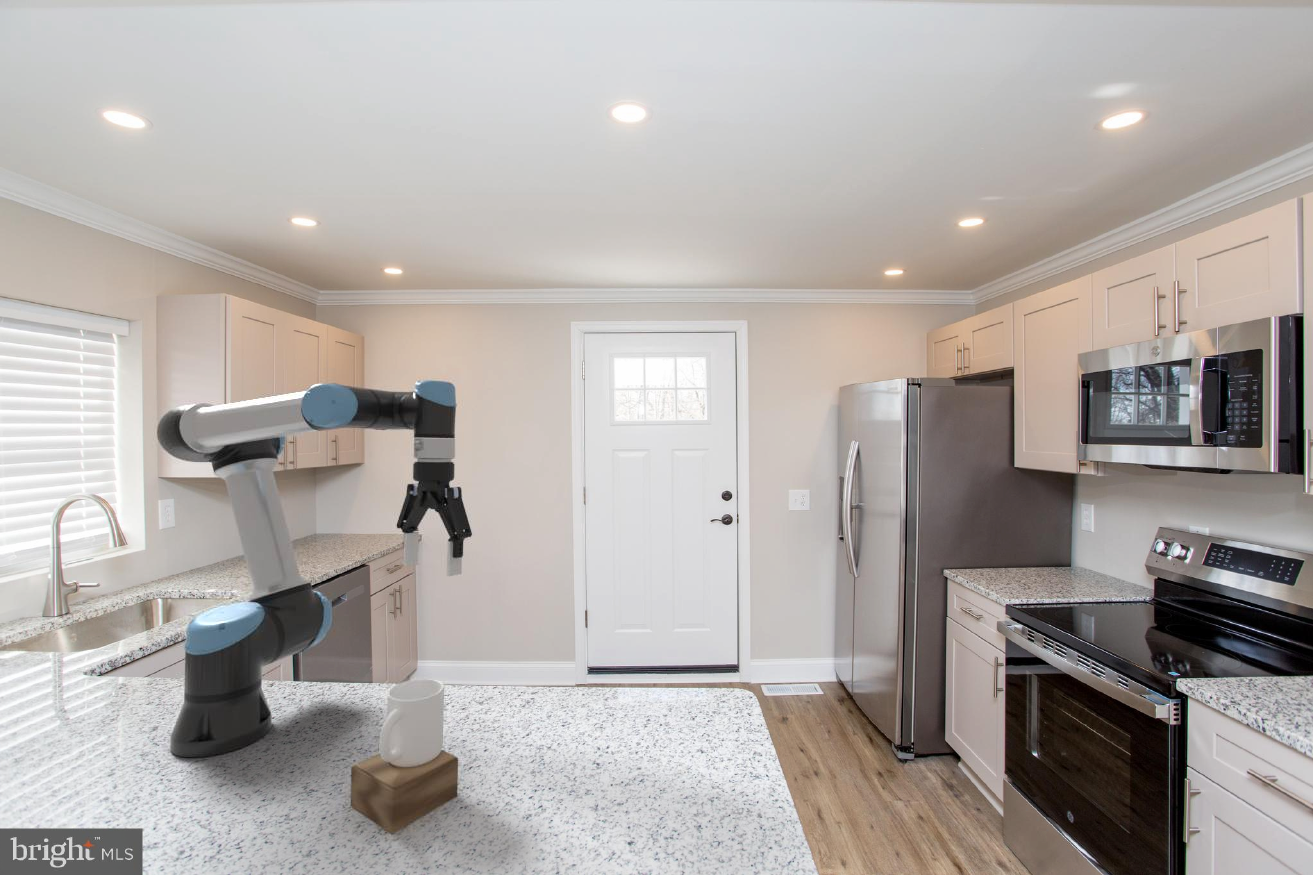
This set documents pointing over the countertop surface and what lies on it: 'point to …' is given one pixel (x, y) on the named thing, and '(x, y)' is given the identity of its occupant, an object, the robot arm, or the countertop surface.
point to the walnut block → (402, 789)
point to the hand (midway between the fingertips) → (431, 570)
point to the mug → (413, 723)
